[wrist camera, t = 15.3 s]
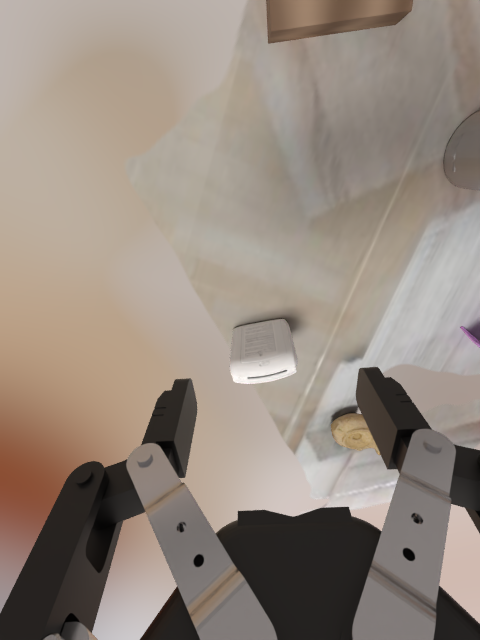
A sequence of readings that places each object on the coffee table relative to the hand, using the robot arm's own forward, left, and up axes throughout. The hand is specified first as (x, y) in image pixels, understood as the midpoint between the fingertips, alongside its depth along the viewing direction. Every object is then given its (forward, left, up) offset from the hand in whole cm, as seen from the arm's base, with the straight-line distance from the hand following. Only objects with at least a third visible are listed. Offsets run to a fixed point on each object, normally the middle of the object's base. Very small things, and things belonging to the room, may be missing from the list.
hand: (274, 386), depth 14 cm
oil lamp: (-20, +42, -33) cm, 57 cm away
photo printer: (0, +17, -33) cm, 37 cm away
